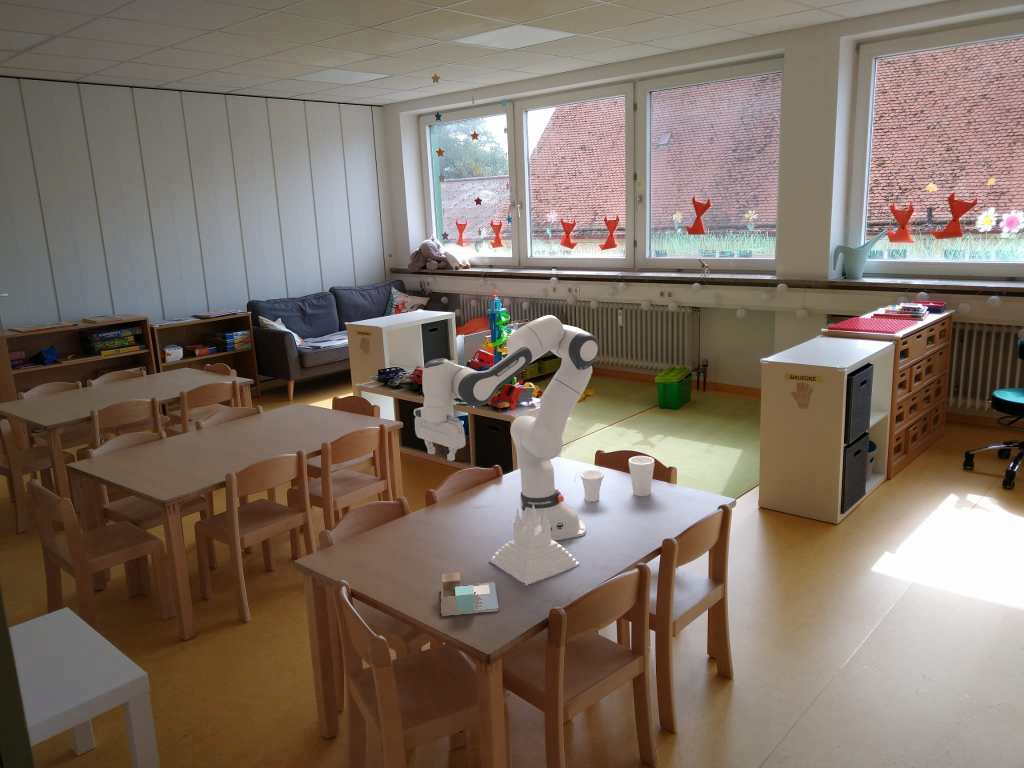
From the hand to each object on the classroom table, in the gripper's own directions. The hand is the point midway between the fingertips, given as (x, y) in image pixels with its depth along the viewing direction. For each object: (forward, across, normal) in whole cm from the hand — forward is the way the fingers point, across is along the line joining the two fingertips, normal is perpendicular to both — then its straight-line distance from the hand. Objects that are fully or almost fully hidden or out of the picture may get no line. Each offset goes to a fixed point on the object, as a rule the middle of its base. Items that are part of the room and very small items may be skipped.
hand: (441, 456), depth 235 cm
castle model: (+35, -21, -17) cm, 44 cm away
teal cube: (+34, -27, +15) cm, 46 cm away
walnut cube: (+34, -18, +12) cm, 40 cm away
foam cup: (+33, -12, -84) cm, 92 cm away
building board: (+35, -23, +11) cm, 43 cm away
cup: (+34, -2, -68) cm, 76 cm away
